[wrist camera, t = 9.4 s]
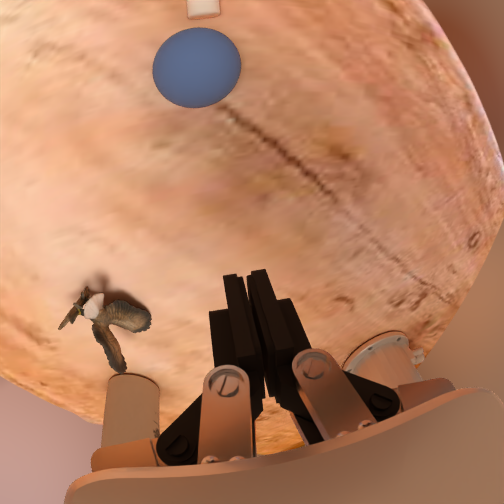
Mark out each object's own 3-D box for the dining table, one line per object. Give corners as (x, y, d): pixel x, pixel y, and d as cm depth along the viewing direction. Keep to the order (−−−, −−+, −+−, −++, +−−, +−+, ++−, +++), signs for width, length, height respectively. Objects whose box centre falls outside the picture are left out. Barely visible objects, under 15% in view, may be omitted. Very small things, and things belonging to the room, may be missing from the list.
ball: (243, 59, 13) (248, 116, 19) (232, 6, 14) (238, 61, 20) (136, 80, 13) (165, 131, 19) (145, 24, 14) (166, 74, 20)
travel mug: (107, 393, 38) (99, 496, 23) (110, 367, 34) (98, 488, 19) (154, 403, 40) (157, 505, 25) (164, 379, 37) (168, 498, 22)
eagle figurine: (64, 320, 28) (123, 365, 30) (50, 336, 21) (125, 390, 24) (99, 269, 30) (158, 317, 33) (93, 273, 23) (168, 332, 26)
